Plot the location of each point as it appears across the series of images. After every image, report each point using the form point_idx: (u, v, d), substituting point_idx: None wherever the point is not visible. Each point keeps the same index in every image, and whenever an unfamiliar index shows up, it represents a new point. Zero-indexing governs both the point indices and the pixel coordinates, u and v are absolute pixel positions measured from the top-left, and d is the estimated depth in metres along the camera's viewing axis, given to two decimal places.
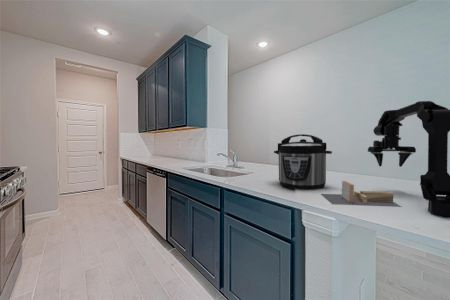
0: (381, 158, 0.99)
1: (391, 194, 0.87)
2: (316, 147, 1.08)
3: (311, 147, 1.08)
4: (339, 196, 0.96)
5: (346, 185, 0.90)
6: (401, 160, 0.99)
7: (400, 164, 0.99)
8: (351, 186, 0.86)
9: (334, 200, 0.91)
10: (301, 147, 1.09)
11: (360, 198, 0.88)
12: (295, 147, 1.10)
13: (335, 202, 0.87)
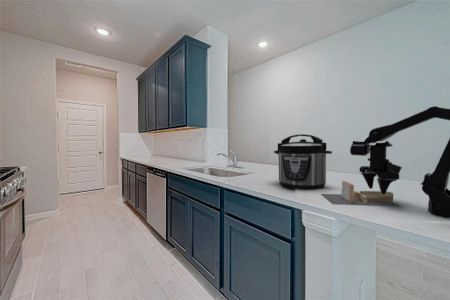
0: (365, 179, 0.94)
1: (391, 194, 0.87)
2: (316, 147, 1.08)
3: (311, 147, 1.08)
4: (339, 196, 0.96)
5: (346, 185, 0.90)
6: None
7: None
8: (351, 186, 0.86)
9: (334, 200, 0.91)
10: (301, 147, 1.09)
11: (360, 198, 0.88)
12: (295, 147, 1.10)
13: (335, 202, 0.87)
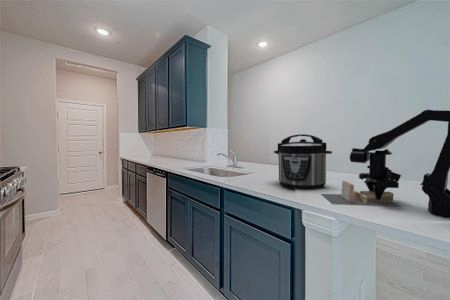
0: (368, 187, 0.91)
1: (391, 194, 0.87)
2: (316, 147, 1.08)
3: (311, 147, 1.08)
4: (339, 196, 0.96)
5: (346, 185, 0.90)
6: None
7: None
8: (351, 186, 0.86)
9: (334, 200, 0.91)
10: (301, 147, 1.09)
11: (360, 198, 0.88)
12: (295, 147, 1.10)
13: (335, 202, 0.87)
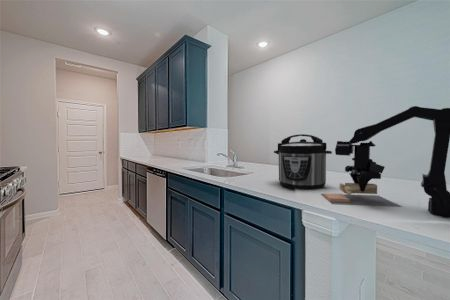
0: (353, 180, 0.92)
1: (375, 186, 0.87)
2: (316, 147, 1.08)
3: (311, 147, 1.08)
4: None
5: None
6: None
7: None
8: (331, 200, 0.88)
9: None
10: (301, 147, 1.09)
11: (345, 190, 0.89)
12: (295, 147, 1.10)
13: (335, 202, 0.87)
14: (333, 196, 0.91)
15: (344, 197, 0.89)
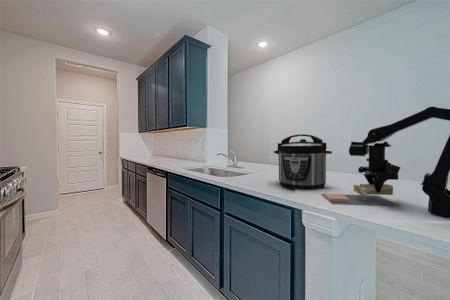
0: (368, 181, 0.91)
1: (391, 187, 0.86)
2: (316, 147, 1.08)
3: (311, 147, 1.08)
4: None
5: None
6: None
7: None
8: (331, 200, 0.88)
9: None
10: (301, 147, 1.09)
11: (360, 191, 0.88)
12: (295, 147, 1.10)
13: (335, 202, 0.87)
14: (333, 196, 0.91)
15: (344, 197, 0.89)
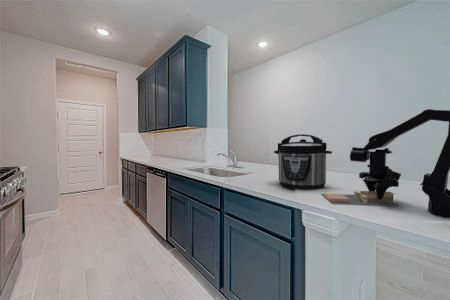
0: (367, 186, 0.92)
1: (391, 194, 0.86)
2: (316, 147, 1.08)
3: (311, 147, 1.08)
4: None
5: None
6: None
7: None
8: (331, 200, 0.88)
9: None
10: (301, 147, 1.09)
11: (360, 198, 0.88)
12: (295, 147, 1.10)
13: (335, 202, 0.87)
14: (333, 196, 0.91)
15: (344, 197, 0.89)
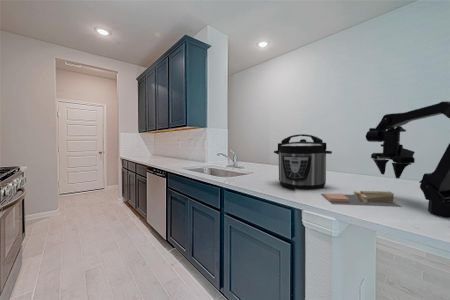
0: (377, 165, 0.95)
1: (391, 194, 0.86)
2: (316, 147, 1.08)
3: (311, 147, 1.08)
4: None
5: None
6: None
7: None
8: (331, 200, 0.88)
9: None
10: (301, 147, 1.09)
11: (360, 198, 0.88)
12: (295, 147, 1.10)
13: (335, 202, 0.87)
14: (333, 196, 0.91)
15: (344, 197, 0.89)
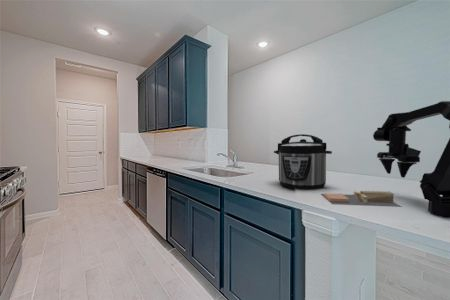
0: (383, 164, 0.96)
1: (391, 194, 0.86)
2: (316, 147, 1.08)
3: (311, 147, 1.08)
4: None
5: None
6: None
7: None
8: (331, 200, 0.88)
9: None
10: (301, 147, 1.09)
11: (360, 198, 0.88)
12: (295, 147, 1.10)
13: (335, 202, 0.87)
14: (333, 196, 0.91)
15: (344, 197, 0.89)
